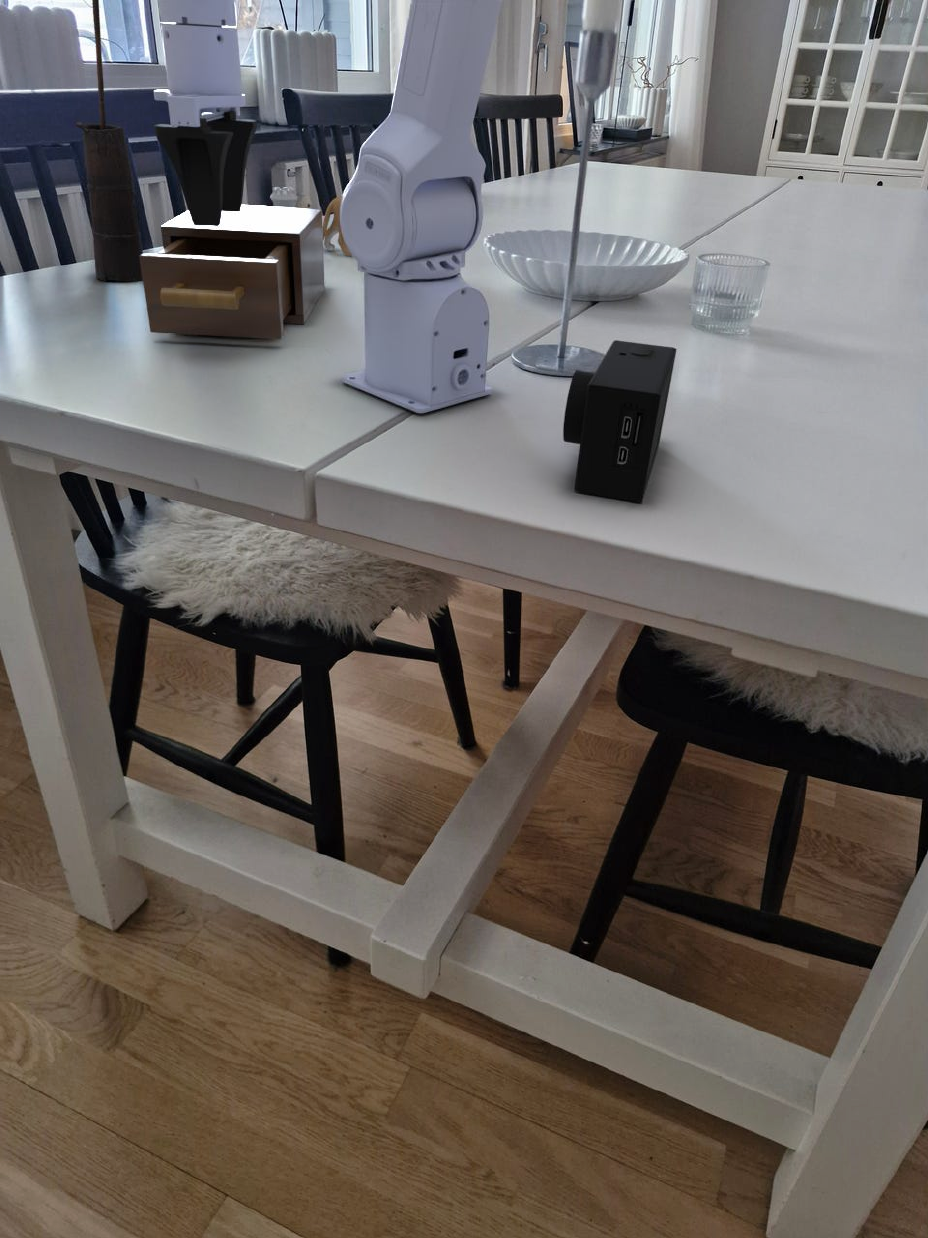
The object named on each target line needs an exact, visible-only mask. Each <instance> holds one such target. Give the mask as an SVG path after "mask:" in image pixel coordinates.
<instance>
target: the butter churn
mask: <svg viewBox="0 0 928 1238" xmlns="http://www.w3.org/2000/svg"><path fill="white" fill-rule="evenodd" d="M91 1H92V2H91V3H92V17H93V18H92V21H93V31H94V40H95V42H94V43H95V56H96V57H95V59H96V60H95V61H96V75H97V91H98V93H97V94H98V99H99V100H98V102H99V123H88V124H84V123H83V122H81V121H80V122H79V121H78V122H76V123H75V126H76V127H77V128H78V129H80V130H82V142H83V148H84V163H85V169H86V180H87V182H86V188H87V191H88V197H89V209H90V217H91V229H92V230H91V232H92V234H91V235H92V243H93V244H92V245H93V256H94V257H93V259H94V269H95V277H96V278H97V279H98V280H100V281H103V282H106V281H107V282H109V281H111V280H113V281H119V282H135V281H136V282H138V281H139V282H140V281H143V278H142V271H141V264H140V258H139V256H140V255H141V254H143V253H144V250H143V243H142V239H141V237H142V236H141V231H140V223H139V219H138V214H137V213H138V212H137V210H138V209H137V206H136V199H135V195H136V191H135V184H134V181H133V172H132V166H131V163H130V157H129V151H128V146H127V141H126V136H125V132H124V128H123V127H122V126H116V125H111V124H107V119H106V109H105V108H106V106H105V102H104V101H105V84H104V70H103V68H104V67H103V56H102V54H103V53H102V38H101V37H102V35H101V20H100V19H101V18H100V0H91Z"/></svg>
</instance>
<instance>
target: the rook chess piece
mask: <svg viewBox="0 0 928 1238" xmlns="http://www.w3.org/2000/svg"><path fill="white" fill-rule="evenodd" d="M271 189H272V193H271V194H270V196H269V198H270V200H271V202H272V203H273V205H274V206H273V207H287V208H295V204H296V202H297V200H298V196H297V195H296V194H295V188H293V187H289V188H288V187H287V186H286V187H285V186H283V187H282V189H281V187H279V186H276V187H272V188H271Z"/></svg>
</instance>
